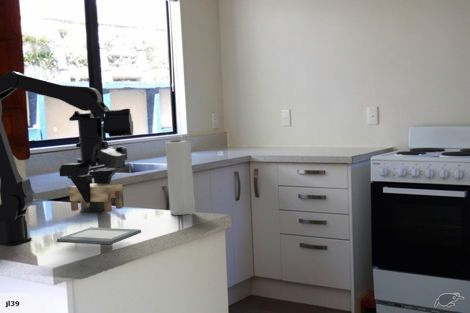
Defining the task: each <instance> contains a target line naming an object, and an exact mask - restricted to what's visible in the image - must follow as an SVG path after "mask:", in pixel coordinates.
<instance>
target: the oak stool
mask: <svg viewBox="0 0 470 313" xmlns="http://www.w3.org/2000/svg"><path fill="white" fill-rule="evenodd" d="M67 188H68V194H69V201H70V209H71V210H70V211H74V212H75V211H79V203H78V202H80V201H83V207H85V208H87V207H90V203H86V202H85V201H84V199H83V197H82V196H81V194H80V192H79V190H78V189H77V187H76V186H75V185H72V186H71V185H70V186H68V187H67ZM123 189H124V188H123V183H110V184H93V183H92V184H90V201H93V202H104V206H105V211H104V212H105V213H110V212H113V207H112V206H113V205H112V199H114V201H115V209H123V208H124V206H123V204H124V203H123Z"/></svg>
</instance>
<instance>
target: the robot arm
mask: <svg viewBox="0 0 470 313" xmlns="http://www.w3.org/2000/svg"><path fill="white" fill-rule="evenodd" d="M17 89H18V90H21V91H25V92H30V93H33V94H36V95H41V96H44V97H49V98H52V99H57V100H60V101H62V102H63V103H66V104H67V105H70V106H72V107H73V108H76V109H79V110H81V111H84V112H85V111H86V112H87V111H88V113H81V112H80V111H78V110H75V111H74V113H73V114H72V115H71V116H70V117H69V118H68V120H69V121H71V122H73V121H74V122H75V121H77V126H78V138H79V142H76V143H75V147H76V148H79V149H80V151H79V152H80V158H81V159H80V160H77V159H76V160H77V162H70V163H63V164H61V165H60V166H59V168H58V173H59V177H67V178H68V179H69V180H71V182H72V183H73V184H74V186H76V187H77V189H78V190H79V192H80V194H81V196H82V197H83V199H84V201H85V202H86V203H90V181H91V179H92V178H93V176H94V175H90V173H89V172H91V171H92V170H93V171H94V173H95V176H96V180H97V183H98V184H111V180H112V178H113V177H114V175H115V174H116V173H118V172H119V171H120V169H122V168H126V162H125V161H126V160H128V159H129V158H128V151H127V150H128V149H127V148H126V146H125V147H124V146H123V145H119V146H117V147H116V148H111V147H109V143H108V140H107V141H106V140H105V141H104V134H108V136H109V138H115V137H131V136H133V134H134V121H133V118H132V113H131V108H122V109H113V110H111V109H110V108H109V107H108V106H107V105H106V104H105V103H104V102H103V100H102V98H103V96H102V94H101V92H100V91H99V90H98V89H97V88H94V87H88V86H78V85H77V86H75V85H65V84H62V83H61V84H60V83H56V82H53V81H49V80H46V79H45V80H44V79H41V78H37V77H33V76H29V75H26V74H23V73H20V72H18V71H17V72H16V71H14V70H13V71H12V70H10V71H7V72H5V73H4V74H3V75H0V245H1V246H15V245H18V244H22V243H25V242H29V241H31V240H32V239H33V238H32V237H29V235H28V234H29V233H28V223H27V220H26V213H27V210H28V208H29V207H30V206H31V205H32V203H33V201H34V194H35V191H34V190H33V188H32V185H31V180H30V178H26V179H24V178H23V177H22V176H21V174H20V173H19V170H18V167H17V164H16V163H17V162H16V161H15V160H16V159H15V157H14V155H13V154H14V153H13V152H12V149H11V145H10V142H9V138H8V136H7V133H6V130H5V127H4V124H3V121H2V116H3V106H2V100H3V99H5V98H6V97H7V96H10V95H11V94H12V93H14V92H15V90H17ZM94 114H95V115H104V116H97V117H95V115H94ZM102 121H103V122H102ZM103 132H104V133H103ZM93 179H94V178H93Z"/></svg>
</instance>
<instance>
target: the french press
mask: <svg viewBox="0 0 470 313" xmlns="http://www.w3.org/2000/svg"><path fill="white" fill-rule="evenodd" d="M80 159H81V157H78V158H76V160H80ZM94 171H95V170H90V171H89V173H90V175H94V176H93V178H92V179H91V181H90V184H98V183H97V180H96V176H95V173H94ZM79 202H80V209H79V211H80V212H81V213H86V212H89V213H99V212H98V211H100V212H105V206H104V202H93V201H90V207H87V208H85V207H83V201H79Z"/></svg>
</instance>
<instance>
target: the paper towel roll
mask: <svg viewBox="0 0 470 313" xmlns="http://www.w3.org/2000/svg"><path fill="white" fill-rule="evenodd" d="M164 143H165V155H166V172H167V184H168V197H169V198H168V199H169V212H170V214H171V215H174V216H178V215H179V216H181V215H192V214H196V207H195V206H196V203H195V193H194V192H195V190H194V176H193V174H194V173H193V164H192V162H193V161H192V159H193V158H192V146H191V141H190V140H189V141H188V140H170V141H165V142H164Z"/></svg>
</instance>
